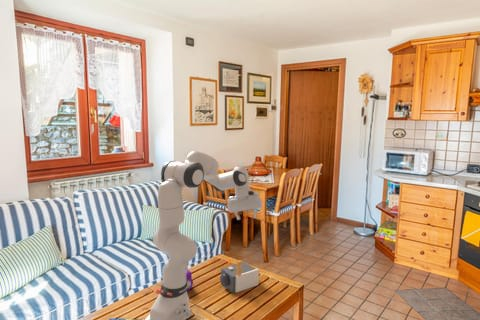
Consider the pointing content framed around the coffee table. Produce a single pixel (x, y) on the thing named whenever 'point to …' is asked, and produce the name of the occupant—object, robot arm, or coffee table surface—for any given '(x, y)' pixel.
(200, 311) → the coffee table surface
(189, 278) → the toy camera
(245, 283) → the thin white panel
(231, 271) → the gray box camera
